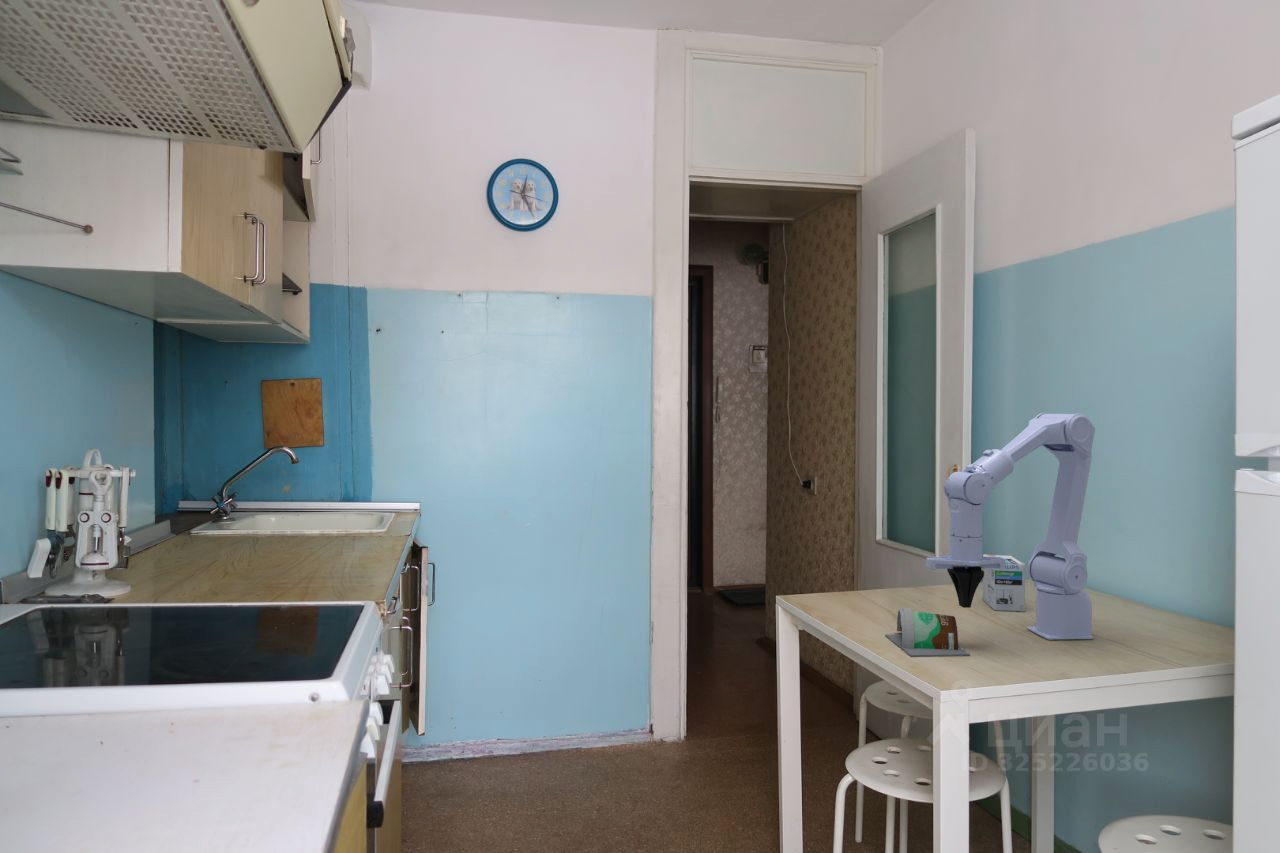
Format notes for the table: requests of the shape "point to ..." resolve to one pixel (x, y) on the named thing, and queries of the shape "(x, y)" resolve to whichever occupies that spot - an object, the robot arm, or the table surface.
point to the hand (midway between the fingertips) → (964, 606)
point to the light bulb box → (1005, 585)
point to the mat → (925, 652)
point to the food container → (927, 630)
